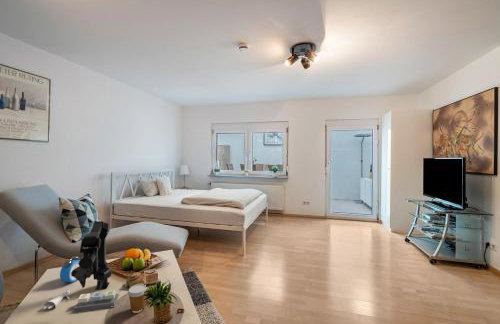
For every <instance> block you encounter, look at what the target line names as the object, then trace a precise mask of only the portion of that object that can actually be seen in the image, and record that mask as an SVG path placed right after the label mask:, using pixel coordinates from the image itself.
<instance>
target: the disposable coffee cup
mask: <svg viewBox="0 0 500 324" xmlns="http://www.w3.org/2000/svg"><path fill="white" fill-rule="evenodd" d="M146 289H147V290H148V287H146V285H144V284H137V285H134V286H132V287H131V288H129V289H128V291H127V294H128V296H129V297H128V298H129V305H130V311H131V310H132V311H139V310H141V309H143V308H144V309H145V304H146V300H145V301H144V298H145V296H144V291H145V290H146ZM145 299H146V298H145Z"/></svg>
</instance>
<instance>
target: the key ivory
mask: <svg viewBox="0 0 500 324" xmlns="http://www.w3.org/2000/svg"><path fill="white" fill-rule="evenodd" d="M90 297H91V293H90V292H89V293H81V294H80V295H79V297H78V298H77V303H82V302H88V300H89V298H90Z"/></svg>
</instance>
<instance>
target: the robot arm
mask: <svg viewBox="0 0 500 324" xmlns="http://www.w3.org/2000/svg"><path fill="white" fill-rule="evenodd" d="M110 226H111V225H110V224H109V223H106V222H105V221H103V220H101V221H100V220H98V221H94V222H93V224H92V227H91V229H90V230H89V231H90V232H89V233H87V234H85V235H84V237H83V238H82V239H81V243H80V250H79V254H82V256H81V258H80V261H79V267H77V268H76V269H74V270H72V272H71V276H74V278H76V281H78V282H79V283H80V286H81V287H82V289H83V288H85V286H86V280H87V279H89V278H90V277H91V276H93V280H96V286H95V289H94V290H95V291H97V290H105V289H108V287H109V285H110V281H109V278H110V277H111V276H112V270H111V268H110V266H109V265H110V264H109V263H108V262H107V261H106V260H107V258H106V257H107V255H106V254H107V253H106V252H107V251H106V247H107V242H106V241H107V240H106V239H107V236H108V235H109V232H110V230H111V229H110ZM108 281H109V282H108Z"/></svg>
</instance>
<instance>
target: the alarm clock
mask: <svg viewBox="0 0 500 324" xmlns="http://www.w3.org/2000/svg"><path fill="white" fill-rule="evenodd" d="M80 260H81V258H80V257H79V256H78V255H74V256H71V258H70V259H67V260H65V261H63V263H62V266H61V269H60V272H59V278H60V280H61V282H64V283H70V284H73V283H75V282H76V281H77V280H76V278H74V276H71V272H72V270H74V269H76V268H77V267H79V261H80Z"/></svg>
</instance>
